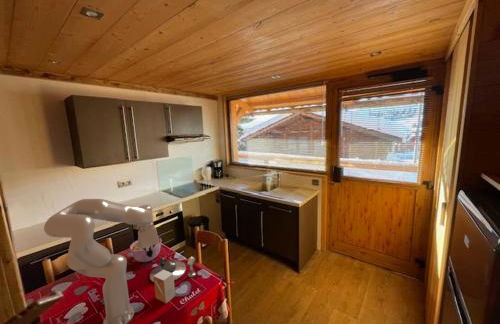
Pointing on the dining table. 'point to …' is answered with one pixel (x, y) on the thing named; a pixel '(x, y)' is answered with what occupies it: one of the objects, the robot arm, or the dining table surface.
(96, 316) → the dining table surface
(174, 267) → the cover
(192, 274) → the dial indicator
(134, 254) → the bowl of food
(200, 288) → the dining table surface
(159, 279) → the small box
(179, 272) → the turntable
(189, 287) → the dining table surface
